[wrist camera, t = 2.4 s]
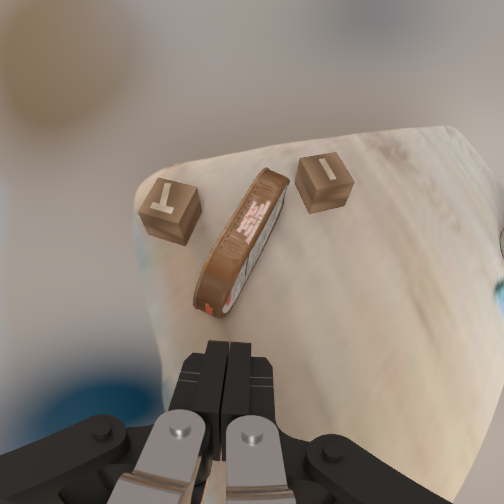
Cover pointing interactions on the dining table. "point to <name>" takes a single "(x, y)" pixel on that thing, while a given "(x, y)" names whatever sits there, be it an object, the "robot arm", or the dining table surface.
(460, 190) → the dining table surface
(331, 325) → the dining table surface
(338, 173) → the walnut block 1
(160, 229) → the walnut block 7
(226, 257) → the tin
